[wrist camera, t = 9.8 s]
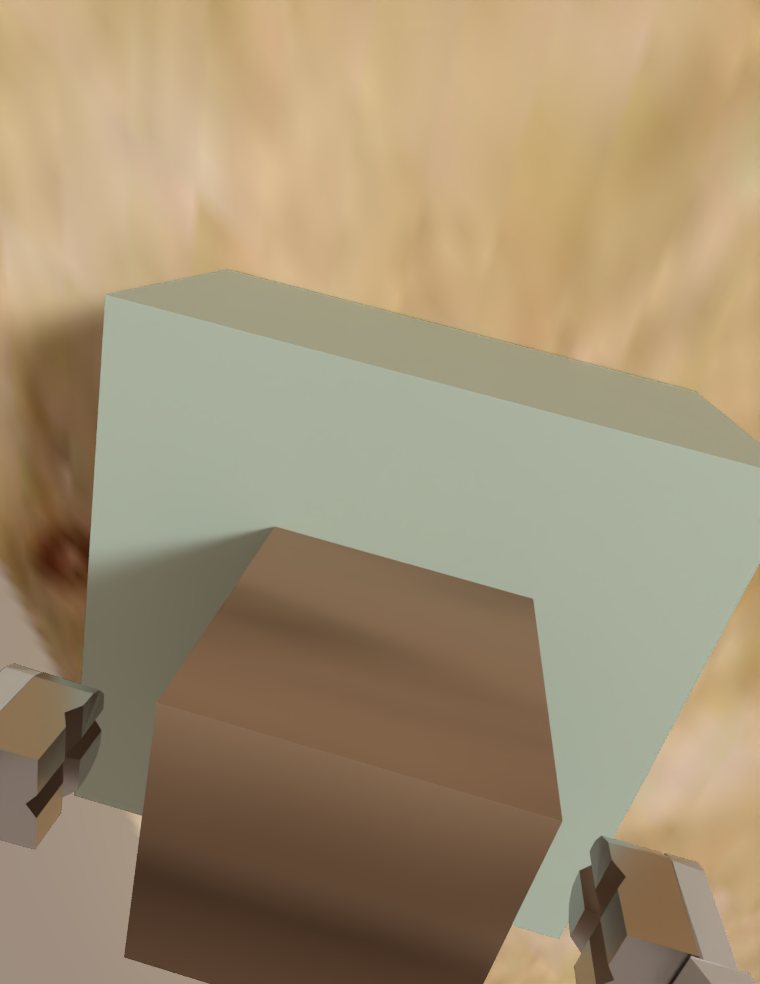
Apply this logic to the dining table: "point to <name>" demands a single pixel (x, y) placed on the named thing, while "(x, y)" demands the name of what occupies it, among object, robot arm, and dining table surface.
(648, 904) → the robot arm
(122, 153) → the dining table surface
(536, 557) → the block
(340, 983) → the walnut cube
